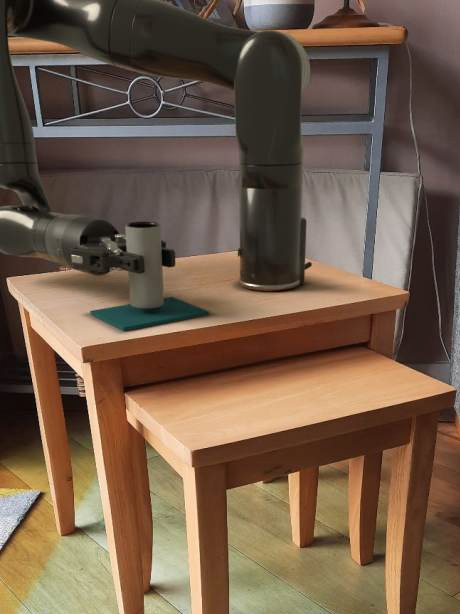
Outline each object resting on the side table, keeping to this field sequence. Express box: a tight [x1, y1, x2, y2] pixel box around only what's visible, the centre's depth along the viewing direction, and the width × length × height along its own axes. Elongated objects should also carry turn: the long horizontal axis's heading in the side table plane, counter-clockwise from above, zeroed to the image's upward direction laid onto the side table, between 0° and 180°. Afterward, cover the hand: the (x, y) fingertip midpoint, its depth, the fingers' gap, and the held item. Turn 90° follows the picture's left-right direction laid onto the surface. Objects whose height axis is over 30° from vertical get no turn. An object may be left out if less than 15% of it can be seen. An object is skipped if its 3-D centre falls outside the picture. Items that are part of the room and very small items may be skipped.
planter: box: [124, 221, 165, 309], centre depth 99 cm, size 4×4×10 cm
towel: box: [89, 296, 210, 332], centre depth 102 cm, size 13×10×1 cm
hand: (157, 261), depth 96 cm, fingers closed on planter, 4 cm apart
